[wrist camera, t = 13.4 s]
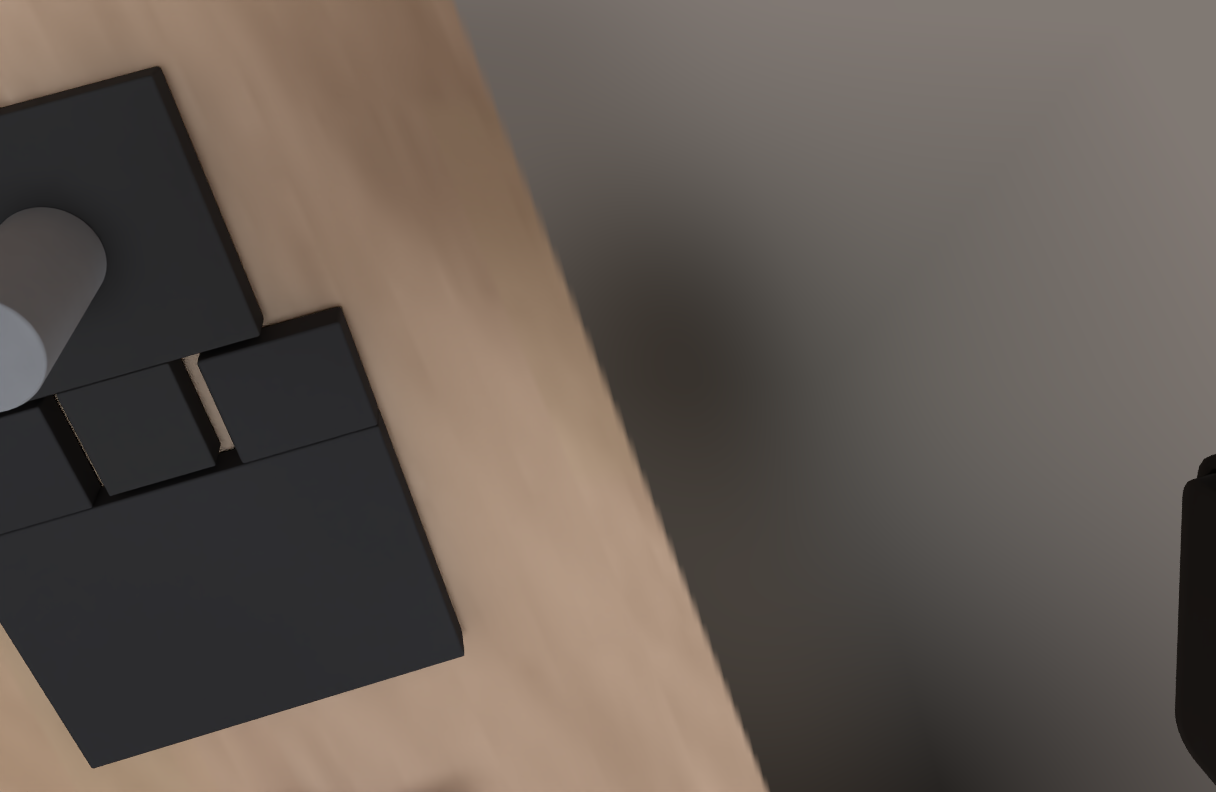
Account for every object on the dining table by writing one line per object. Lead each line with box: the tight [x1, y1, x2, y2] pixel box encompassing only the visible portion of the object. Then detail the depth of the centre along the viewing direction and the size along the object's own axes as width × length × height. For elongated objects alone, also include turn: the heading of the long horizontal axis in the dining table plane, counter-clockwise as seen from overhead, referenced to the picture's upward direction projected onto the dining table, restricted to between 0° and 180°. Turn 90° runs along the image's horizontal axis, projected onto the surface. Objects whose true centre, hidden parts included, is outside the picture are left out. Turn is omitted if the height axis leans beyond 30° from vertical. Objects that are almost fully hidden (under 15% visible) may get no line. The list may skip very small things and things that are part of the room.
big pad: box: [0, 307, 464, 768], centre depth 33 cm, size 12×12×1 cm
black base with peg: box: [0, 67, 263, 496], centre depth 27 cm, size 8×10×7 cm
